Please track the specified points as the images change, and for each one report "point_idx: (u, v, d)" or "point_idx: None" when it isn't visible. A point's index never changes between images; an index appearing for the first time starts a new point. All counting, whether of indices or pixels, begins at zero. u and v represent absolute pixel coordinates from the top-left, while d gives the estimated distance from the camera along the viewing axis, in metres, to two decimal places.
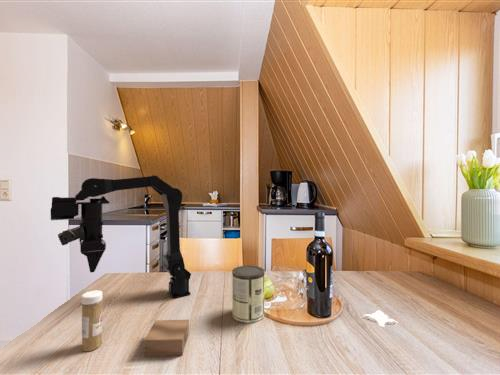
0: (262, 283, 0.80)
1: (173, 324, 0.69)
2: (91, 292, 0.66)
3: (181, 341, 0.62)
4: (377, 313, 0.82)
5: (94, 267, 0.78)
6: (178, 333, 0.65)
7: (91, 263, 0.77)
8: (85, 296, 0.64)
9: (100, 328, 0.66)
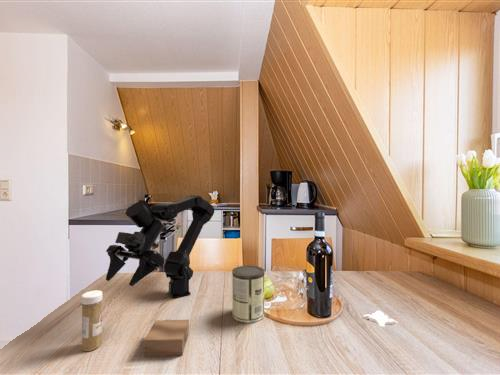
0: (262, 283, 0.80)
1: (173, 324, 0.69)
2: (91, 292, 0.66)
3: (181, 341, 0.62)
4: (377, 313, 0.82)
5: (136, 281, 0.72)
6: (178, 333, 0.65)
7: (138, 275, 0.73)
8: (85, 296, 0.64)
9: (100, 328, 0.66)
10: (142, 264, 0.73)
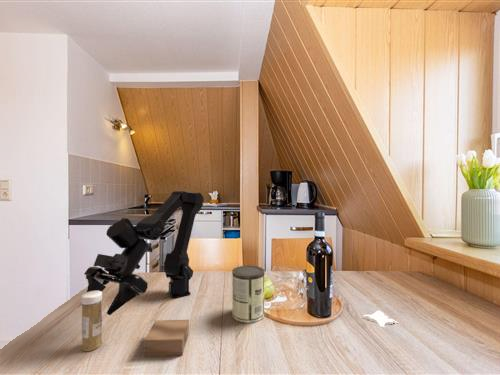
0: (262, 283, 0.80)
1: (173, 324, 0.69)
2: (91, 292, 0.66)
3: (181, 341, 0.62)
4: (377, 313, 0.82)
5: (114, 309, 0.66)
6: (178, 333, 0.65)
7: (117, 303, 0.66)
8: (85, 296, 0.64)
9: (100, 328, 0.66)
10: (122, 290, 0.67)
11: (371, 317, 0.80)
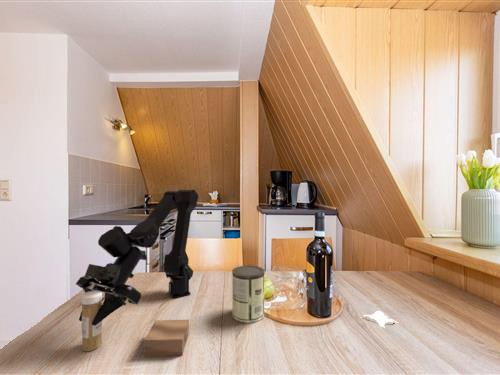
0: (262, 283, 0.80)
1: (173, 324, 0.69)
2: (91, 292, 0.66)
3: (181, 341, 0.62)
4: (377, 313, 0.82)
5: (100, 320, 0.65)
6: (178, 333, 0.65)
7: (103, 313, 0.65)
8: (85, 296, 0.64)
9: (100, 328, 0.66)
10: (108, 300, 0.65)
11: (371, 317, 0.79)
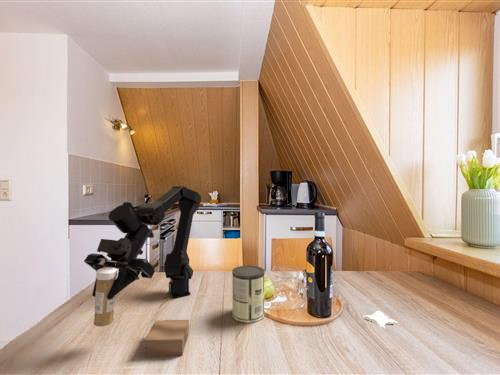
0: (262, 283, 0.80)
1: (173, 324, 0.69)
2: (105, 268, 0.66)
3: (181, 341, 0.62)
4: (377, 314, 0.82)
5: (115, 293, 0.64)
6: (178, 333, 0.65)
7: (117, 287, 0.65)
8: (101, 272, 0.63)
9: (113, 304, 0.66)
10: (122, 274, 0.65)
11: (371, 317, 0.79)
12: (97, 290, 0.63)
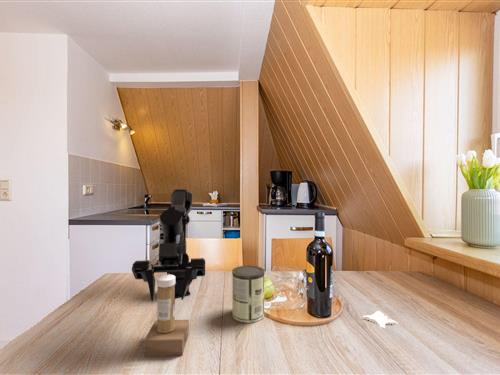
0: (262, 283, 0.80)
1: None
2: (163, 276, 0.67)
3: (181, 341, 0.62)
4: (377, 314, 0.82)
5: (185, 294, 0.67)
6: (178, 333, 0.65)
7: (186, 287, 0.68)
8: (166, 279, 0.65)
9: None
10: (189, 274, 0.69)
11: (371, 318, 0.79)
12: (163, 298, 0.64)
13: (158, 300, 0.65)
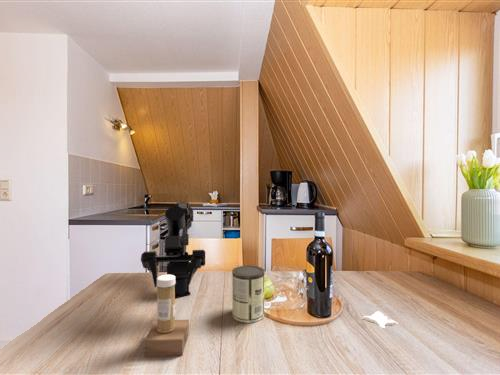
0: (262, 283, 0.80)
1: None
2: (163, 276, 0.67)
3: (181, 341, 0.62)
4: (376, 314, 0.82)
5: None
6: (178, 333, 0.65)
7: (192, 274, 0.77)
8: (165, 279, 0.65)
9: None
10: (195, 263, 0.78)
11: (371, 318, 0.79)
12: (163, 298, 0.64)
13: (158, 300, 0.65)
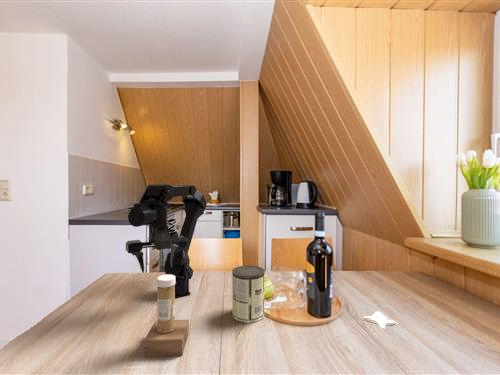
0: (262, 283, 0.80)
1: None
2: (163, 276, 0.67)
3: (181, 341, 0.62)
4: (376, 314, 0.81)
5: None
6: (178, 333, 0.65)
7: None
8: (166, 279, 0.65)
9: None
10: (178, 251, 0.87)
11: (371, 318, 0.79)
12: (163, 298, 0.64)
13: (158, 300, 0.65)
